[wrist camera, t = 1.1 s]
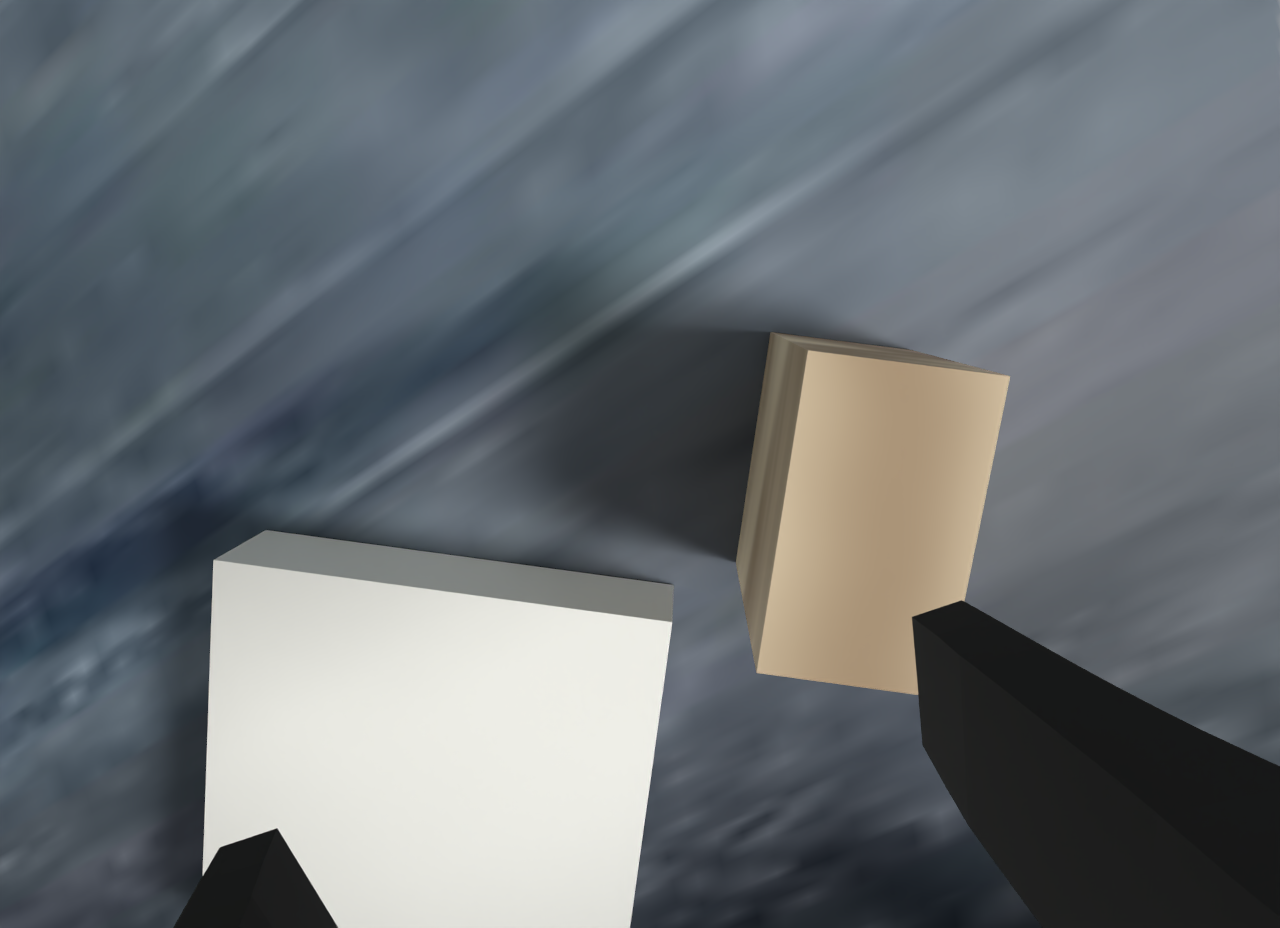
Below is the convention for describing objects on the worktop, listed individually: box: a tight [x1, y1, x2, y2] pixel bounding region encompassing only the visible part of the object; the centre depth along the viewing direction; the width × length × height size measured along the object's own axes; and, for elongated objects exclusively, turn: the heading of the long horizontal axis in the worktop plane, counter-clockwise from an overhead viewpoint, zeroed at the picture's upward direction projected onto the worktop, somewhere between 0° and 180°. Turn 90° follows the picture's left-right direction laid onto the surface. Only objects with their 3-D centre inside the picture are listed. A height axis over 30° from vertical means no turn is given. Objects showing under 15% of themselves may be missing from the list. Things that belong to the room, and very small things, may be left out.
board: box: [203, 530, 674, 928], centre depth 22 cm, size 10×10×2 cm
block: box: [736, 332, 1010, 695], centre depth 18 cm, size 3×6×6 cm, turn 173°
